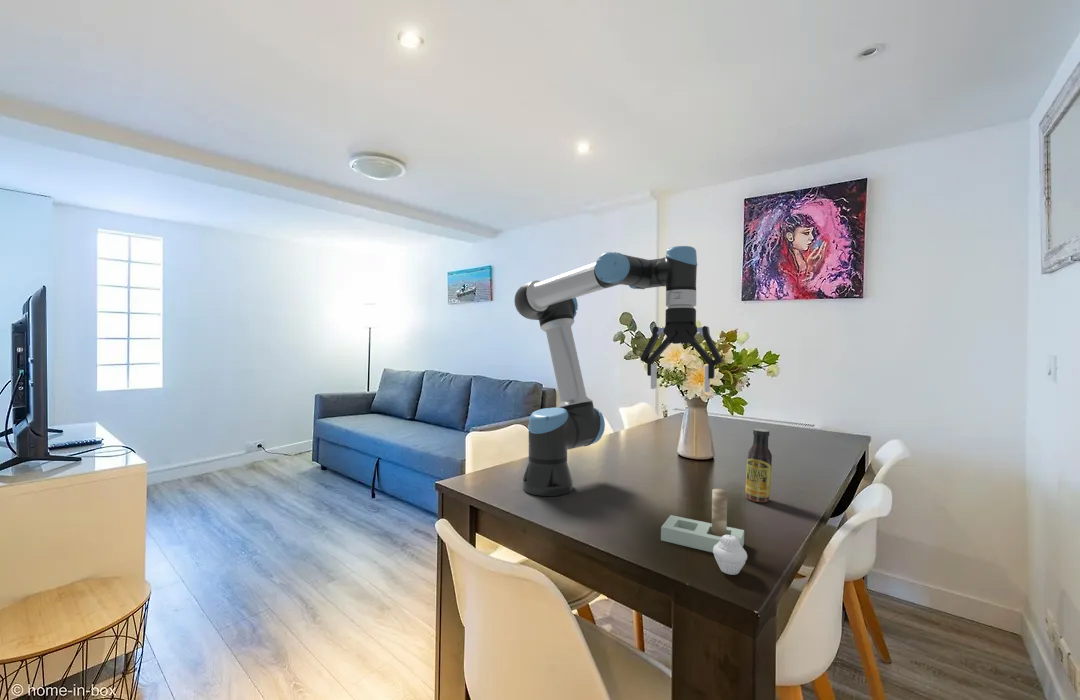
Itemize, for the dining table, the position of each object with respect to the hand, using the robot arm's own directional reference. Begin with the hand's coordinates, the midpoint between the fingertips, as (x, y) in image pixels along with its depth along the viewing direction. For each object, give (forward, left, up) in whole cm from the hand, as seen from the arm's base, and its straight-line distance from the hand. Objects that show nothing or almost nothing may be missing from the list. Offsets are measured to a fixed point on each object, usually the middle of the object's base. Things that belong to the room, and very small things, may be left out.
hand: (679, 390), depth 116 cm
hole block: (+9, -15, -32) cm, 36 cm away
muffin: (+16, -25, -32) cm, 44 cm away
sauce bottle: (+17, +21, -32) cm, 42 cm away
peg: (+12, -15, -32) cm, 37 cm away
